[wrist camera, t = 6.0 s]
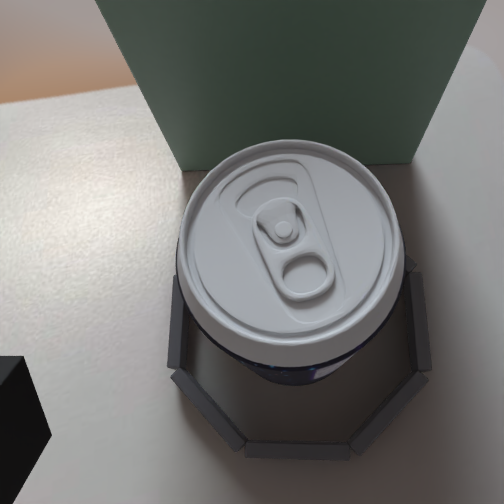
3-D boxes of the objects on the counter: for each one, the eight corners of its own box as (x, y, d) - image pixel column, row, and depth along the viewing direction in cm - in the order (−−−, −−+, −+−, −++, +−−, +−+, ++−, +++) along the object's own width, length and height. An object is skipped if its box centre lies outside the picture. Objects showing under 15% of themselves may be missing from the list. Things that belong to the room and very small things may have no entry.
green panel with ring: (441, 459, 19) (989, 679, 4) (161, 451, 20) (-247, 597, 5) (408, 138, 24) (598, -321, 9) (182, 146, 25) (4, -245, 10)
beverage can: (322, 247, 22) (347, 89, 11) (376, 356, 21) (471, 300, 9) (215, 292, 22) (129, 179, 11) (260, 406, 20) (213, 412, 9)
